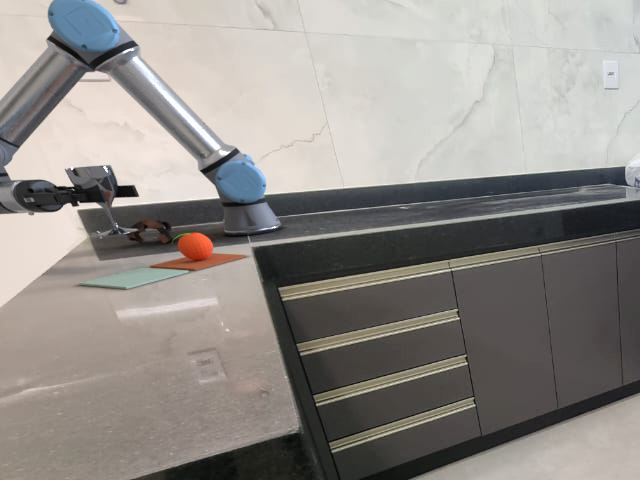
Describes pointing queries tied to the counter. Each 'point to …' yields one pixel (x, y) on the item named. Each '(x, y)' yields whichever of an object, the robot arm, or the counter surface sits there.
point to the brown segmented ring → (154, 225)
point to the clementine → (195, 246)
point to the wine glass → (103, 181)
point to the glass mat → (134, 278)
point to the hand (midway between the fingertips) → (120, 193)
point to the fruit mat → (197, 262)
